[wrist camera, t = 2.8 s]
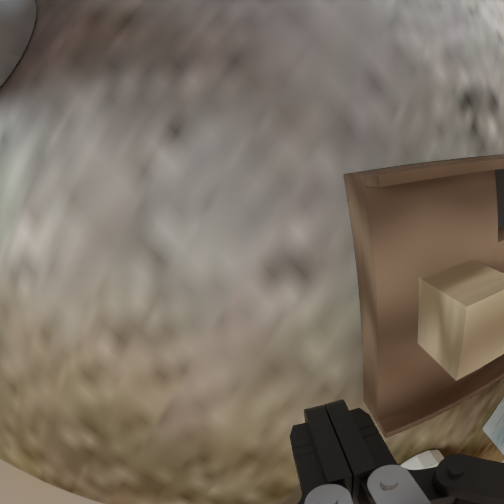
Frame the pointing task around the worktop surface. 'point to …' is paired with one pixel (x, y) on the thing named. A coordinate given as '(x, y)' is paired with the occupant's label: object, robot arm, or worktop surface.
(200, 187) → the worktop surface
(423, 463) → the white cup
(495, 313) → the maple block
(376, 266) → the box
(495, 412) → the skincare box
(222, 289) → the worktop surface
